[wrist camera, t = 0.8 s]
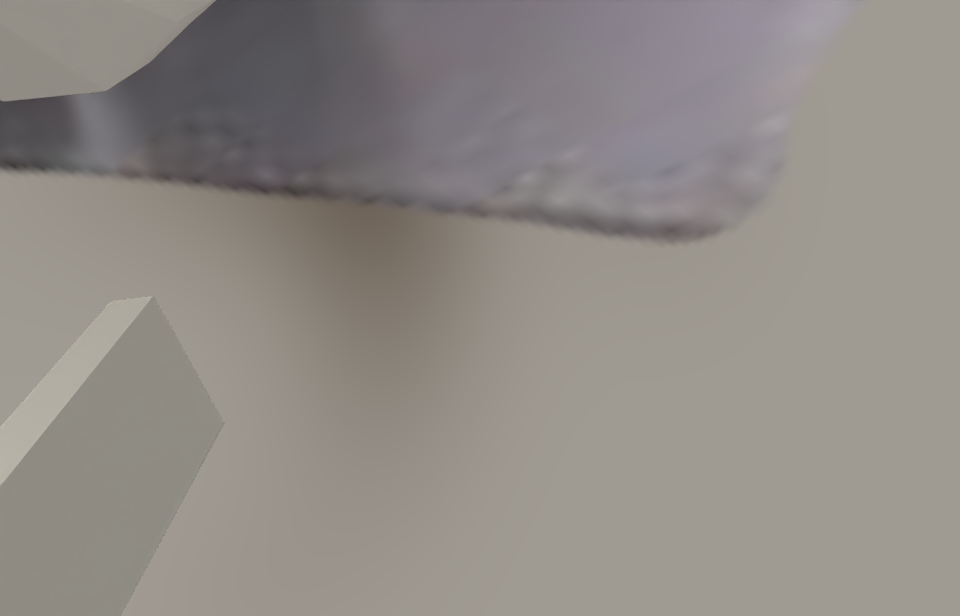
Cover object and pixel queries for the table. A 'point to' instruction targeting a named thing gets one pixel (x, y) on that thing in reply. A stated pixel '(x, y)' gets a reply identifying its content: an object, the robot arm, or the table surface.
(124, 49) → the vase
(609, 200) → the table surface
